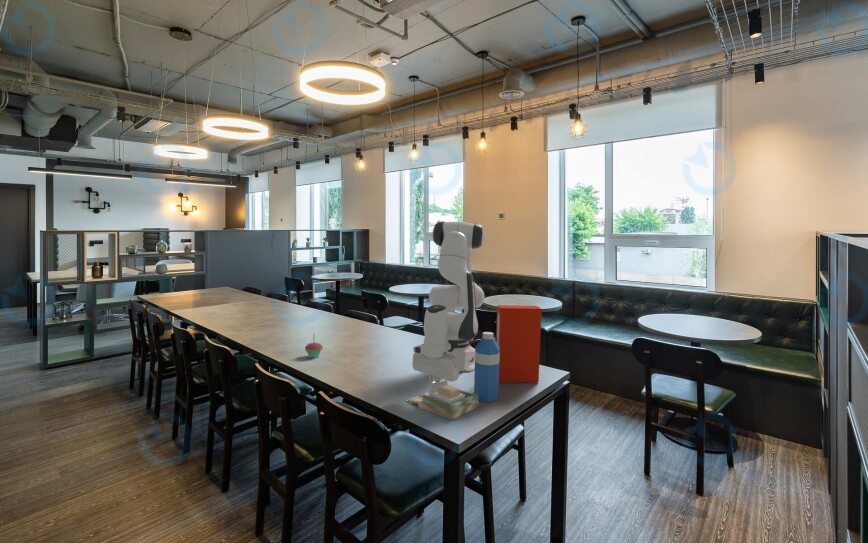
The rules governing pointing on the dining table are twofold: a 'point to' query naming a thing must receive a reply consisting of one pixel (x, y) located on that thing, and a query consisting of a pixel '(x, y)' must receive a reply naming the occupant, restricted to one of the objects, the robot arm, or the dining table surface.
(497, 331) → the red box
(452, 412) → the dock
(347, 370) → the dining table surface
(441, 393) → the cart
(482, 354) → the water bottle
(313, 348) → the cupcake
